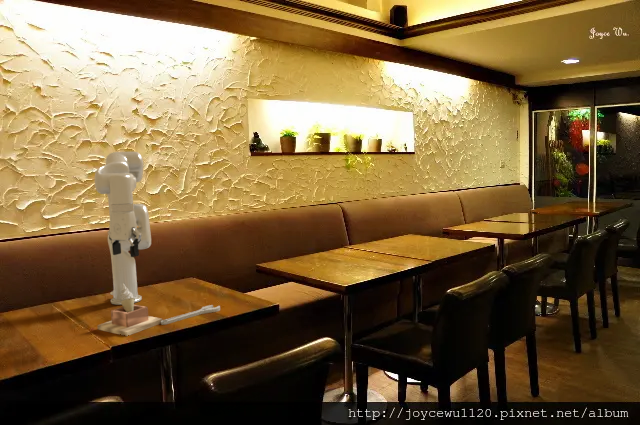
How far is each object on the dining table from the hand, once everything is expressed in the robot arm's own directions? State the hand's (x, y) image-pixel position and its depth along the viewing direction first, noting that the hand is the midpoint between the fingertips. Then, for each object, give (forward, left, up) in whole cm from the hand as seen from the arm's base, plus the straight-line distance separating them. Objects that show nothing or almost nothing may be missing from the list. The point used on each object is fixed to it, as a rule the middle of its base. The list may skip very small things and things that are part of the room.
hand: (125, 255), depth 185 cm
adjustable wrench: (+12, +19, -27) cm, 35 cm away
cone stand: (0, 0, -26) cm, 26 cm away
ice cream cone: (+1, 0, -25) cm, 25 cm away
